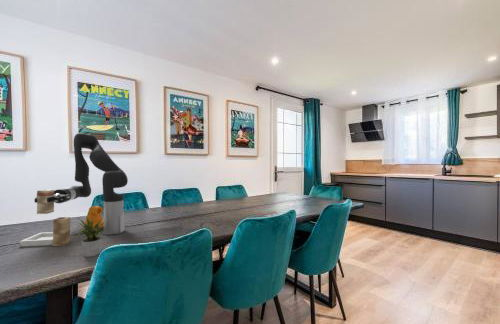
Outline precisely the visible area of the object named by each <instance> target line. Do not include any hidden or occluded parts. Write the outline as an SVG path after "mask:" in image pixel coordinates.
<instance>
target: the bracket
mask: <svg viewBox="0 0 500 324" xmlns="http://www.w3.org/2000/svg"><path fill="white" fill-rule="evenodd" d="M103 213H104V207H102V206H99V205H92V206H90V207H89V208H88V212H87V215H86V217H87V218H88V219H89V220H90V221H91V222H92V220H93V218H95V219H94V220H93V229H94V227H95V225H96V224H97V223H99V221H100V219H101V221H100V224H99V226H100V225H101V224H102V223H103V222H104V219H103V217H102V214H103ZM87 218H85V221H84V223H85V224H87ZM87 225H88V224H87ZM83 226H84V225H83ZM84 227H85V226H84ZM84 227H83V228H84ZM98 228H99V227H98ZM98 228H97V229H98ZM102 228H104V223H103V224H102V225H101V226H100V228H99V229H102Z"/></svg>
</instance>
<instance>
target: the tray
mask: <svg viewBox="0 0 500 324" xmlns="http://www.w3.org/2000/svg"><path fill="white" fill-rule="evenodd" d="M39 246H53V231H50V232H49V231H48V232H47V231H46V232H39V233H36V234H34V235H32V236H29V237H26V238H24V239H22V240H20V241H19V247H20V248H21V247H39Z"/></svg>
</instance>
